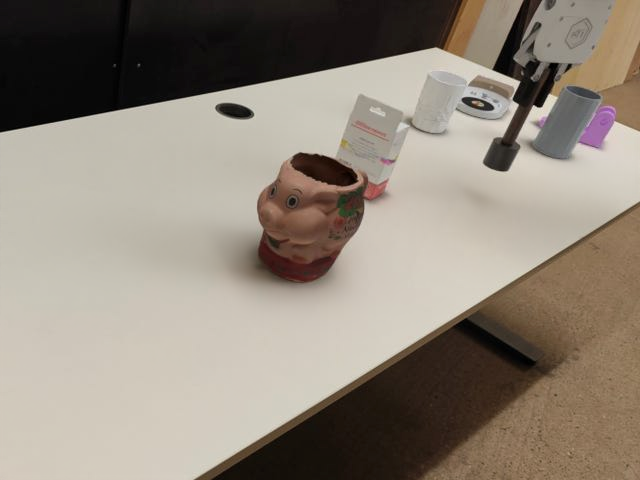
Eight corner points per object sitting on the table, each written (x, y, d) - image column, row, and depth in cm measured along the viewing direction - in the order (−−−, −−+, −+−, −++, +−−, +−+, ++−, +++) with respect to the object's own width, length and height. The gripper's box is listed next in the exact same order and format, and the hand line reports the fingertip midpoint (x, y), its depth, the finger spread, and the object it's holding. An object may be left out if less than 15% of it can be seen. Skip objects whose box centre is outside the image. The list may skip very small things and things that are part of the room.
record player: (521, 88, 156) (501, 110, 143) (515, 101, 158) (494, 124, 145) (473, 71, 160) (449, 92, 147) (467, 84, 162) (443, 106, 149)
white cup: (448, 126, 140) (470, 77, 133) (443, 138, 134) (466, 89, 128) (411, 114, 142) (431, 66, 135) (405, 126, 136) (425, 77, 129)
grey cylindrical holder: (576, 158, 137) (611, 100, 129) (548, 158, 135) (582, 99, 126) (552, 142, 142) (584, 85, 134) (524, 141, 140) (555, 84, 132)
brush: (514, 171, 112) (565, 73, 101) (493, 172, 110) (542, 73, 100) (498, 159, 115) (546, 63, 104) (477, 159, 113) (523, 62, 103)
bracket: (600, 140, 147) (619, 109, 142) (598, 147, 143) (618, 116, 139) (540, 120, 151) (557, 89, 146) (537, 127, 147) (554, 96, 142)
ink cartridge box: (384, 193, 112) (420, 107, 102) (370, 201, 109) (405, 113, 100) (341, 171, 116) (372, 86, 106) (326, 179, 113) (356, 92, 103)
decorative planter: (305, 219, 102) (334, 131, 93) (372, 258, 96) (411, 169, 87) (219, 259, 90) (243, 164, 81) (290, 307, 85) (324, 210, 75)
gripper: (565, -23, 88) (500, 113, 101) (655, -15, 93) (582, 114, 105) (528, -38, 93) (470, 93, 106) (615, -30, 98) (550, 95, 110)
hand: (526, 103), depth 105 cm, fingers closed on brush, 2 cm apart
